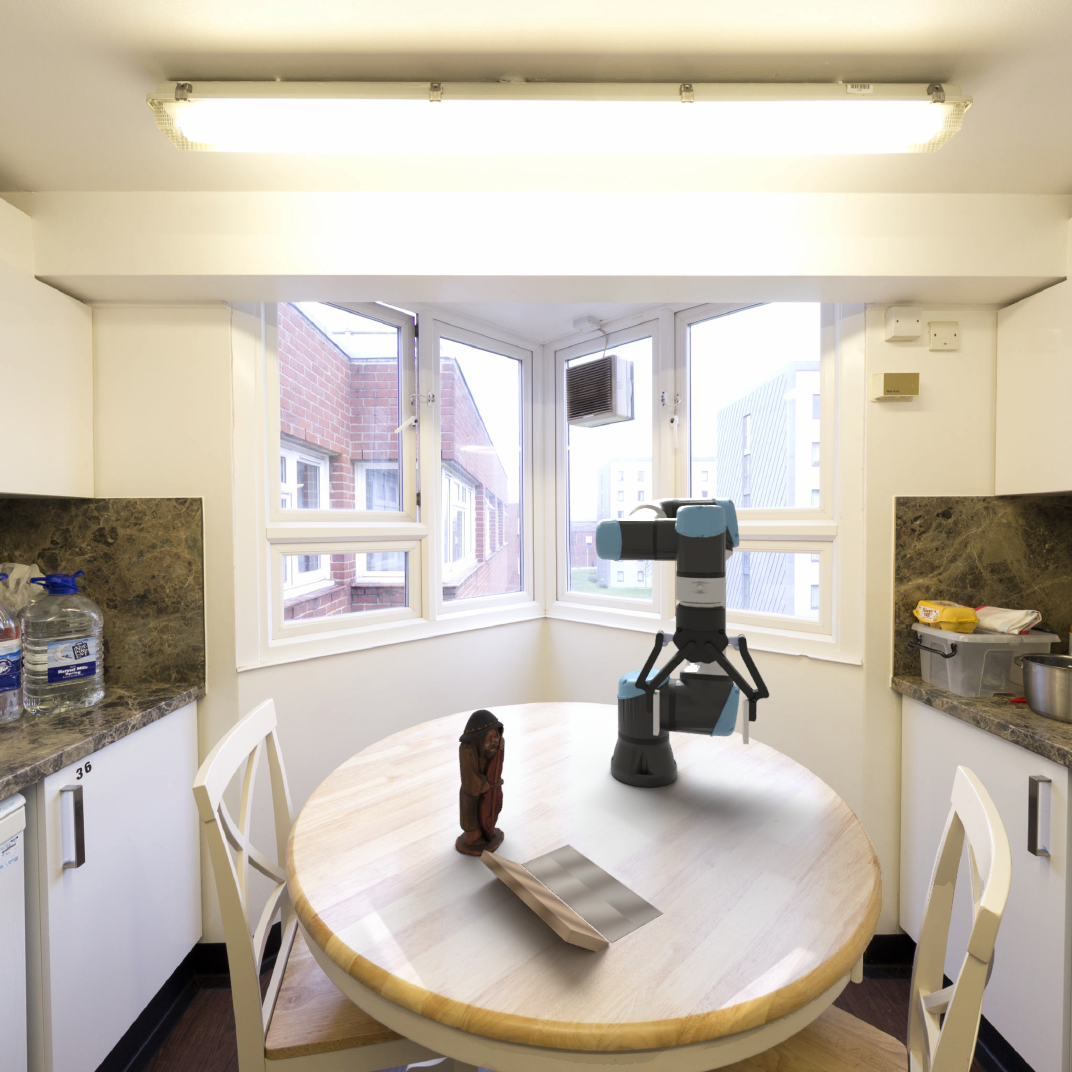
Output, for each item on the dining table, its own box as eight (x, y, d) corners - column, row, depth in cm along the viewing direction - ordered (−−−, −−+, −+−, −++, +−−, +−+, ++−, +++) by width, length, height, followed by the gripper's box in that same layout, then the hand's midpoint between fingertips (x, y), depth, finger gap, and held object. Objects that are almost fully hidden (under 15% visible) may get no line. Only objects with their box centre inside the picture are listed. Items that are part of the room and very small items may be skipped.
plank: (479, 859, 92) (484, 849, 92) (514, 873, 96) (518, 863, 96) (565, 941, 74) (570, 929, 74) (604, 954, 78) (609, 942, 78)
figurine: (481, 871, 97) (480, 723, 97) (445, 857, 101) (443, 715, 101) (515, 842, 106) (513, 706, 105) (479, 830, 110) (478, 699, 109)
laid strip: (521, 872, 97) (521, 864, 97) (568, 852, 102) (568, 844, 102) (612, 953, 79) (612, 942, 79) (663, 923, 85) (663, 913, 84)
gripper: (617, 603, 92) (618, 737, 92) (789, 609, 85) (788, 754, 85) (624, 597, 99) (624, 721, 99) (782, 602, 92) (781, 736, 92)
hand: (699, 736), depth 92 cm, fingers open, 13 cm apart
